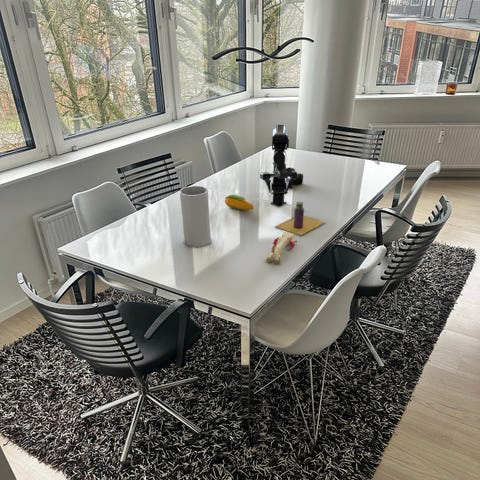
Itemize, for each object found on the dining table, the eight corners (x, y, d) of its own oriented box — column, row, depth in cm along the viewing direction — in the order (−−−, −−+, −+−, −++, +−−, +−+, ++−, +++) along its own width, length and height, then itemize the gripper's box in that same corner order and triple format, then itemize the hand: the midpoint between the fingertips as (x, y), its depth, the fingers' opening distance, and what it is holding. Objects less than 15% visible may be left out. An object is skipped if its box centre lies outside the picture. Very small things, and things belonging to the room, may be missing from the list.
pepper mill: (294, 224, 231) (295, 200, 224) (303, 225, 230) (305, 201, 223) (292, 228, 227) (294, 204, 220) (302, 229, 226) (303, 204, 219)
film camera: (308, 188, 276) (309, 171, 270) (288, 190, 273) (289, 173, 268) (297, 179, 290) (298, 163, 284) (279, 180, 288) (279, 165, 282)
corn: (229, 190, 253) (258, 197, 243) (231, 203, 258) (258, 211, 247) (221, 194, 249) (249, 202, 238) (222, 207, 254) (250, 216, 243)
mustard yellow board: (299, 215, 242) (299, 214, 241) (324, 223, 233) (324, 222, 233) (275, 227, 230) (275, 226, 230) (301, 235, 221) (301, 235, 221)
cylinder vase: (200, 249, 211) (196, 197, 197) (179, 243, 217) (174, 192, 202) (215, 239, 220) (213, 188, 205) (195, 234, 225) (190, 184, 211)
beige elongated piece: (283, 267, 198) (300, 239, 215) (283, 250, 192) (301, 223, 210) (262, 263, 201) (280, 236, 219) (261, 246, 196) (280, 220, 213)
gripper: (266, 164, 219) (265, 196, 227) (302, 162, 223) (300, 194, 230) (259, 160, 229) (259, 192, 236) (294, 159, 233) (293, 190, 240)
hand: (278, 192), depth 235 cm, fingers open, 9 cm apart
